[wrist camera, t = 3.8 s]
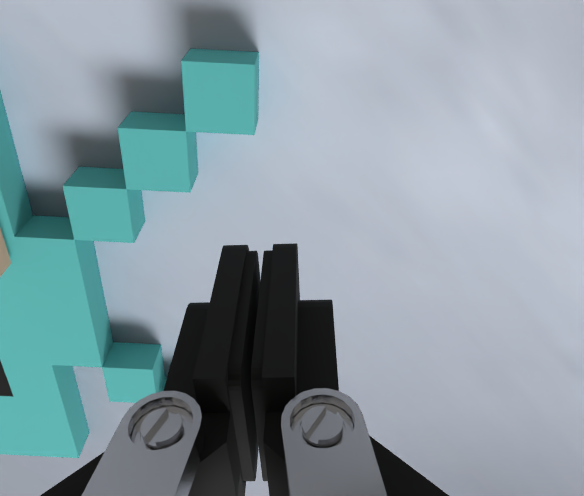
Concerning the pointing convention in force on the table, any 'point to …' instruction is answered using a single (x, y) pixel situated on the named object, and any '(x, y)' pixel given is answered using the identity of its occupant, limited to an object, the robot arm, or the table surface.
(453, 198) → the table surface
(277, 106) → the table surface
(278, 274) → the robot arm
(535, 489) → the table surface
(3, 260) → the terracotta tile
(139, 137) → the alien figure
